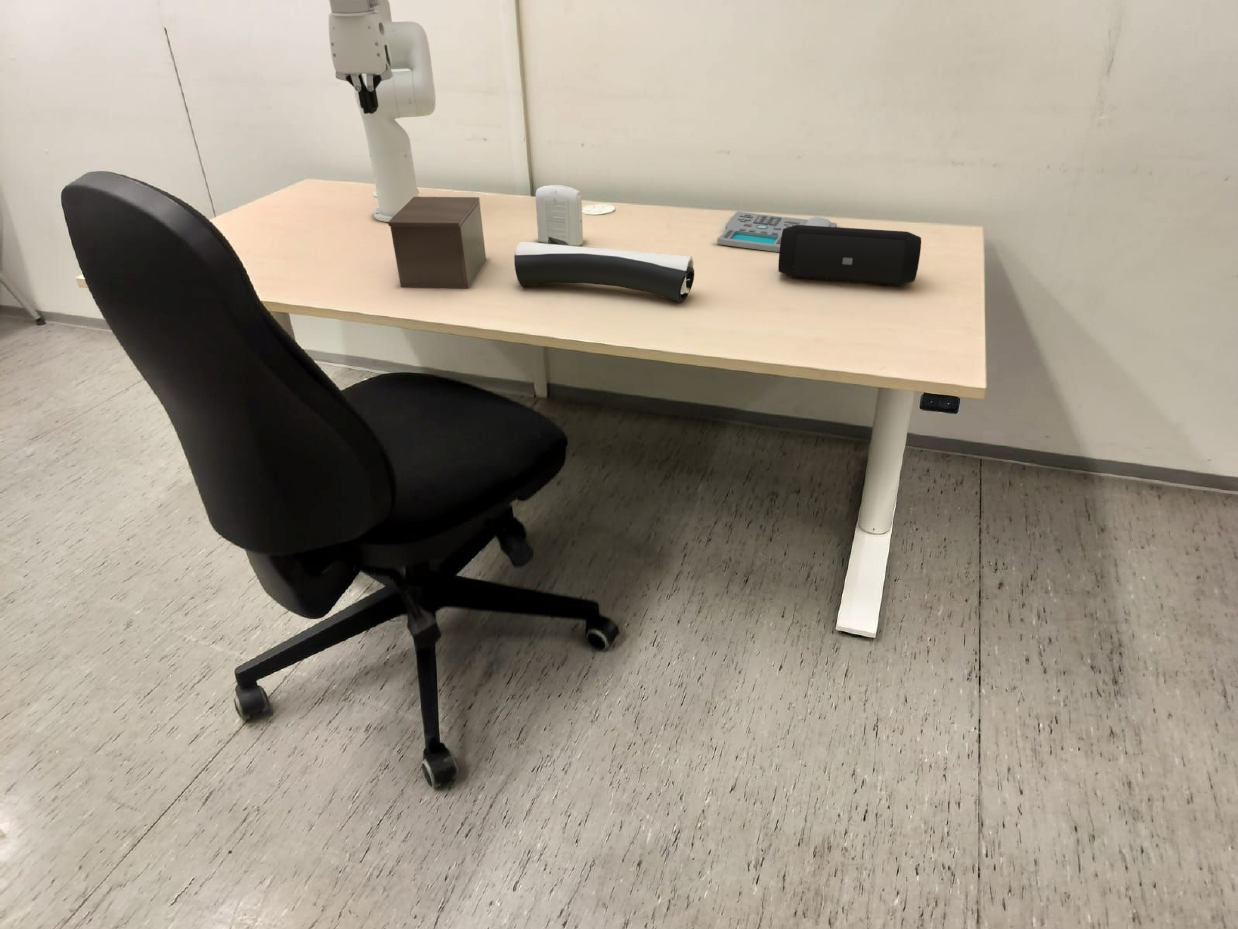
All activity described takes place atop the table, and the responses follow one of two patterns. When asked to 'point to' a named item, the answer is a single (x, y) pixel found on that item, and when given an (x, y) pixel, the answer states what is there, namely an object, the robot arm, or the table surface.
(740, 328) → the table surface
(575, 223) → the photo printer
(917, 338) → the table surface
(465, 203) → the lid
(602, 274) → the curved black white bar
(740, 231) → the office telephone
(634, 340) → the table surface
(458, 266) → the chest
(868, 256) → the portable speaker
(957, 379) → the table surface
